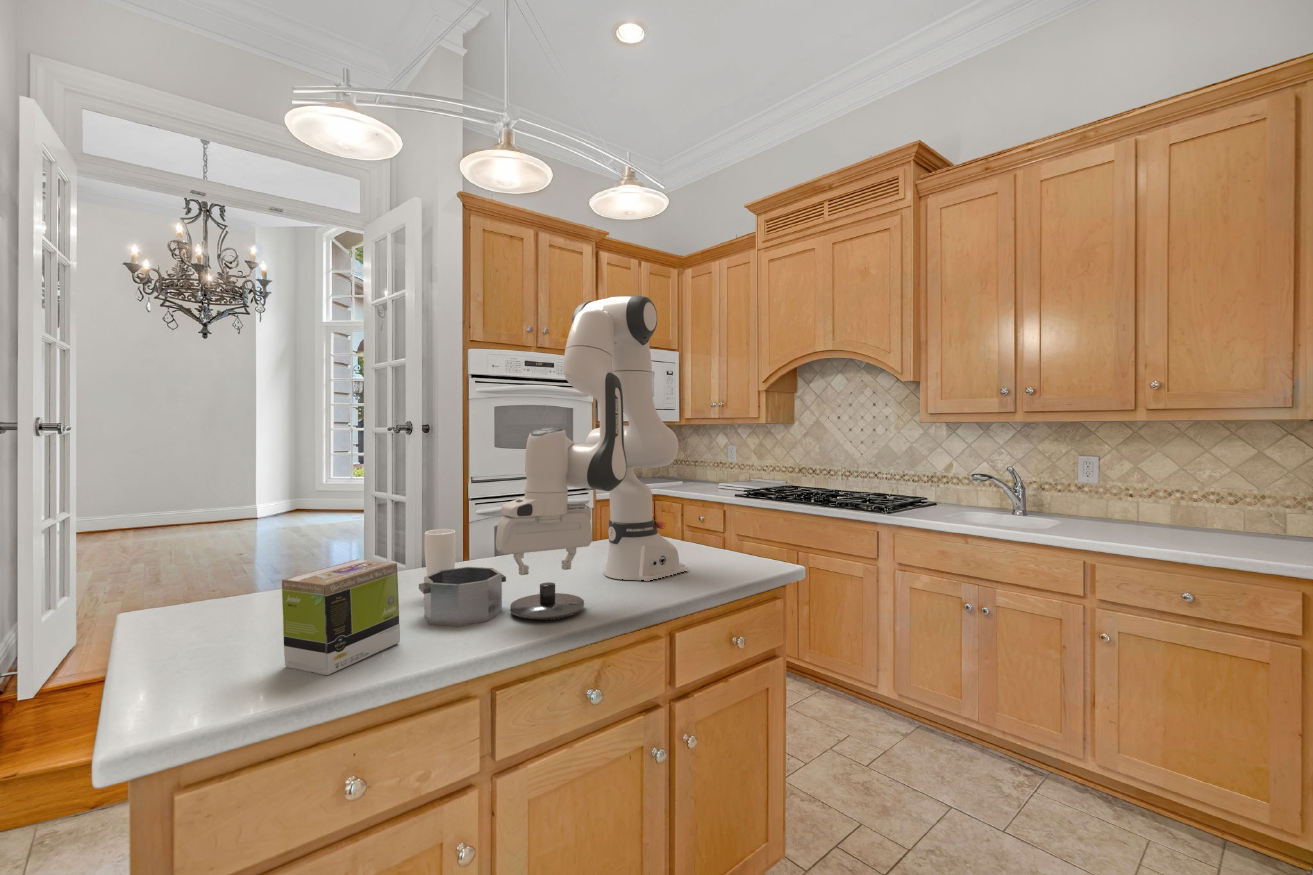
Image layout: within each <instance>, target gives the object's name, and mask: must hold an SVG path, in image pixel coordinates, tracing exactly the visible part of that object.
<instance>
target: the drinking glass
mask: <svg viewBox="0 0 1313 875" xmlns="http://www.w3.org/2000/svg"><path fill="white" fill-rule="evenodd" d="M423 536H424V541H423V542H424V543H423V547H424V549H423V550H424V559H425V570H426V576H428V575H431V574H433V573H435V572H438V571H440V570H447V569H454V568H455V567H456V566H455V565H456V554H457V552H456V551H457V536H456V530H455V529H452V528H451V529H450V528H440V529H439V528H437V529H431V530H427V531H425V532H424V535H423Z"/></svg>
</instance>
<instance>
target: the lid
mask: <svg viewBox="0 0 1313 875" xmlns="http://www.w3.org/2000/svg"><path fill="white" fill-rule="evenodd" d="M509 608H510V609H509V611H510V613H511V614H512V615H513V616H517V617H519V618H523V619H527V620H531V619H532V620H533V621H553V619H555V620H560V619H563V618H562V617H564V618H567V617H569V616H573V615H575V614H577V613H579V612H581V611H583V609H584V608H585V600H584V599H583V598H582V597H580V596H578V595H574V594H569V593H561V592H560V593H556V583H555V582H542V583H540V584H539V593H538V594H537V593H536V594H531V595H526V596H523V597H520V598H517V599H516V600H514V601H512V602H511V603H510V606H509ZM566 616H567V617H566ZM559 618H560V619H559ZM551 619H552V620H551Z"/></svg>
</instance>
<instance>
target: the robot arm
mask: <svg viewBox="0 0 1313 875" xmlns="http://www.w3.org/2000/svg"><path fill="white" fill-rule="evenodd" d="M657 326H658V312H657V309H656V306H655V304H654V303H653V302H652V300H651V299H650V298H649V297H647V296H643V295H637V294H636V295H632V296H623V295H622V296H610V297H608V298H603V299H598V300H594V301H590V300H589V301H586V302H582V303H580V304H579V305H578V306H577V307H576V308H575V310H574V312H573V314H572V316H571V327H570V329H569V333H568V335H567V336H568V337H567V340H566V345H565V349H564V355H563V362H562V370H563V372H562V373H563V375H564V378H565V380H566V381H567V383H568V384H570V386H571V387H572V388H574V389H575V390H577V391H579V392H581V393H583V394H585V395H587V396H590V397H592V398H594V399H595V400H596V401H597V403H598V407H599V427H597V428H593V429H592V430H591V431H590V432H589V433H588V435H587V437H586V440H585V443H578V442H577V443H575V441H572V440H571V439H570V438H569V437H567V434H566V433H567V432H566V430H565V429H564V428H561V427H558V426H557V427H556V426H549V427H540V428H537V429H534V430H532V431H530V433H529V435H528V437H527V440H526V446H525V458H524V459H525V460H524V472H525V475H526V485H525V488H524V496H521V497H519V498H517V499H514V500H511V501H509V502H506V503H504V504H502V505H501V509H500V510H501V514H503V516H502V517H500V520H499V521H498V523H497V529H496V536H495V549H496V550H497V551H498V552H499V554H502V555H504V556H505V555H506V556H507V555H513V559H514V560H515V563H516V564H517V566H518V575H520V576H526V575H527V576H528V575H529V569H530V566H529V565H527V564H524V561H523V559H524V556H525V555H524V554H527V553H535V552H546V551H555V550H556V551H557V550H566V552H567V555H566V556H565V559H564V560H563V559H561V560H560V561H561V563H560V564H561V570H563V571H566V570H567V571H568V570H571V569H572V561H573V560H574V558H575V556H576V554H577V548H586V547H587V548H588V547H589V546H590V545H591V544H592V542H593V531H592V523H591V519H592V510H591V508H590V506H588V505H587V504H586V503H583V502H582V503H580V502H579V503H569V501H568V500H569V499H568V498H569V494H568V493H569V489H568V487H570V488H571V487H572V488H582V489H592V490H598V491H604V492H608V494H609V511H610V512H609V516H610V517H609V520H608V529H607V531H608V532H607V533H608V534H607V535H608V542H609V543H608V553H607V559H606V560H607V561H606V564H605V569H604V572H603V574H604V576H606V577H608V578H611V579H616V580H622V579H623V581H624V580H625V581H641V580H644V581H643V582H651V581H650V580H653V579H657V580H659V579H658V578H661V579H663V578H662V577H664V578H666V577H665V576H668V577H671V576H670V575H672V574H676V575H678V574H677V573H679V572H683V571H686V570H688V571H689V569H688V566H687V565H686V564H683V563H681V562H680V556H679V552H678V549H677V548H676V546H675V545H674V544H672V543H671V542H670V541H669V540H668V539H666V538H665V537H664V536H662V535H661V534H660V533H659V531H658V529H660V530H664V529H665V528H666V523H665V521H663V520H662V521H661V520H654V519H653V493H652V490H651V489H650V487H649V486H648V485H647V484H646V483H644V482H642V481H641V480H639V479H638V477H637V475H636V473H635V471H634V470H635V469H634V468H639V469H640V468H642V469H643V468H644V469H645V468H646V469H656V468H660V467H667V466H669V465H672V464H673V462H674V461H675V460H676V458H677V456H678V453H679V440H678V437H677V435H676V433H675V432H674V431H673V429H671V428H670V427H668V426H667V425H666V424H665V423H664V422H663V420H662V419H661V417H660V416H659V413H658V412H657V409H656V407H655V406H656V405H655V403H654V395H653V371H652V370H653V368H652V366H653V365H652V355H651V348H650V343H649V341H650V339H651V337H652V336H653V335H654V333H655V331H656V329H657ZM624 414H625V416H626V418H627V420H628V425H624ZM672 576H673V575H672ZM653 581H654V580H653Z"/></svg>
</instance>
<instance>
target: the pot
mask: <svg viewBox="0 0 1313 875" xmlns="http://www.w3.org/2000/svg"><path fill="white" fill-rule="evenodd" d="M506 582H507V576H505V575H504V574H502V573H501V572H500V571H498V570H497V569H495V568H493V567H482V566H481V567H478V566H464V567H456V568H455V567H454V569H447V570H440V571H438V572H435V573H433V574H431V575H428V576H427V575H426V576H424V577H423V582H421V583H418V589H419V591H420V592H421V594H423V602H424V603H423V605H424V607H423V610H424V613H423V615H424V617H425V619H426V620H427V621H428V623H429V624H430V625H433V626H434V625H435V626H436V625H437V626H438V625H439V626H447V627H448V626H451V627H462V626H467V625H474V624H478V623H479V624H480V623H483V622H489V621H490V620H492V619H493V618H495V617H496V616H498V615H499V614H501V613H502V612H503V600H502V598H503V597H502V596H503V588H502V586H503V585H502V584H503V583H506Z"/></svg>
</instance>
